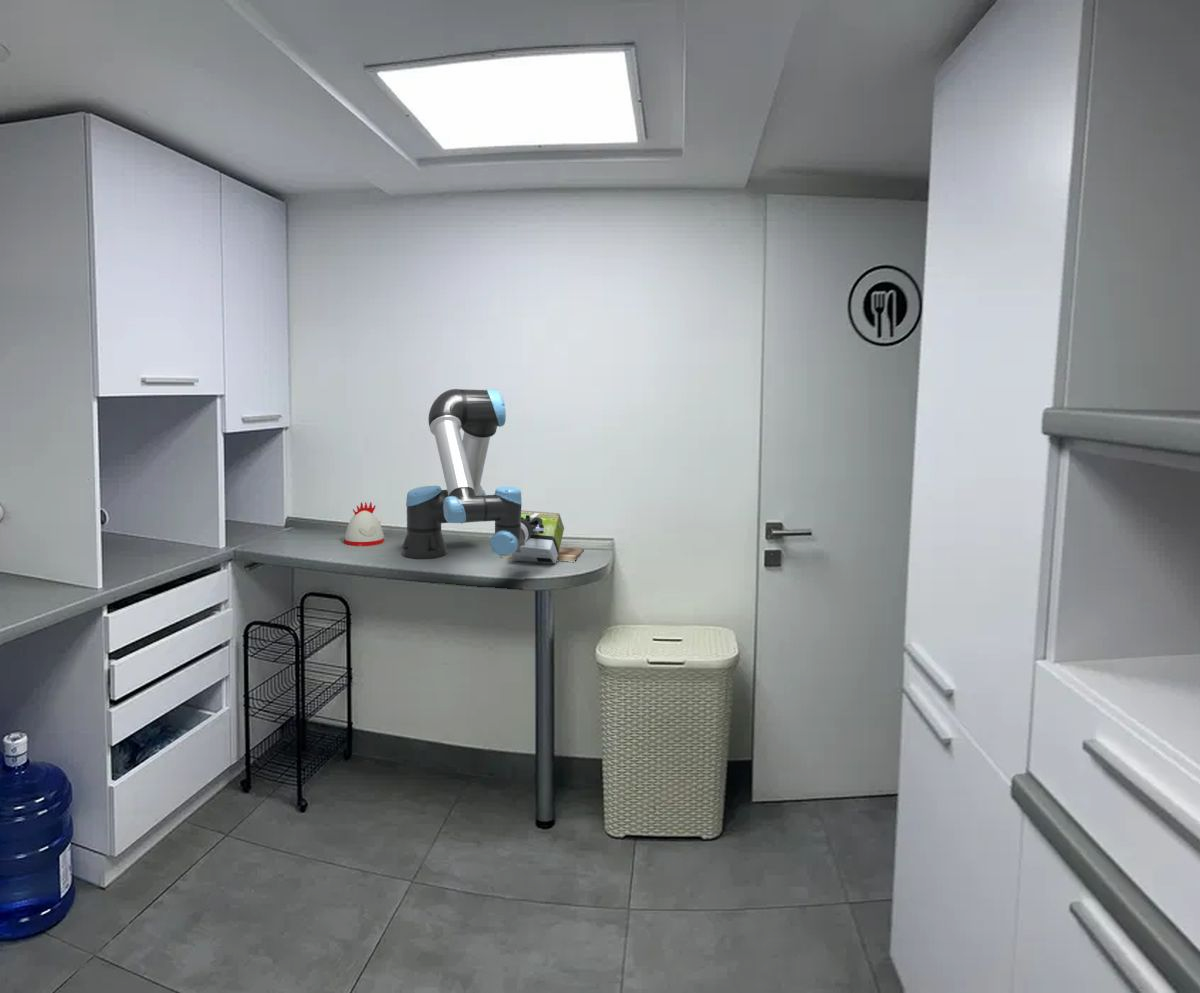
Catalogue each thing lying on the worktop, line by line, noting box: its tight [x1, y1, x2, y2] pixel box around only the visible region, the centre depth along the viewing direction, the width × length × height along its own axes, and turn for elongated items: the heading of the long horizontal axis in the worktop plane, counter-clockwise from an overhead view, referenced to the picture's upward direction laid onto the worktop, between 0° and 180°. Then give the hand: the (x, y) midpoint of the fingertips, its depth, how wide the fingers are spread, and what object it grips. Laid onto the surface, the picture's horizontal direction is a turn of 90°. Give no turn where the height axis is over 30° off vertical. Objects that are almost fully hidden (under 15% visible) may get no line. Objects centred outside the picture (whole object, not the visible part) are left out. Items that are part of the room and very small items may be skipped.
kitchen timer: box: [344, 501, 385, 547], centre depth 278 cm, size 14×14×15 cm
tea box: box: [512, 509, 565, 564], centre depth 256 cm, size 15×10×15 cm
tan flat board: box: [500, 546, 585, 562], centre depth 267 cm, size 26×18×2 cm
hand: (537, 517), depth 253 cm, fingers closed
